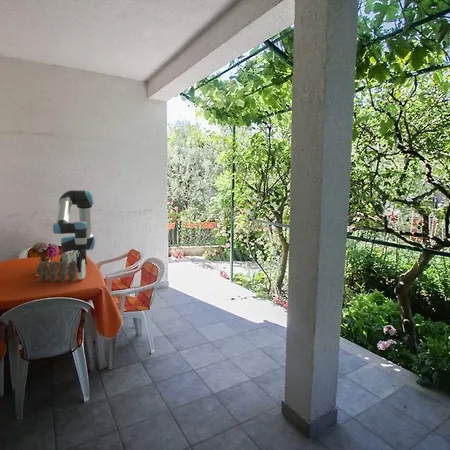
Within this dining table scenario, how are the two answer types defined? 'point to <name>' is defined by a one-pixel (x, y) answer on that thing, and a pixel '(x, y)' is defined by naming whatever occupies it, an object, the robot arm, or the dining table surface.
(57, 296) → the dining table surface
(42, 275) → the tile
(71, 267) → the tile
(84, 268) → the tile
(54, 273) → the tile
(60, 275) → the grey brown jagged slab
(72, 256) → the candy bar box
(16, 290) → the dining table surface
